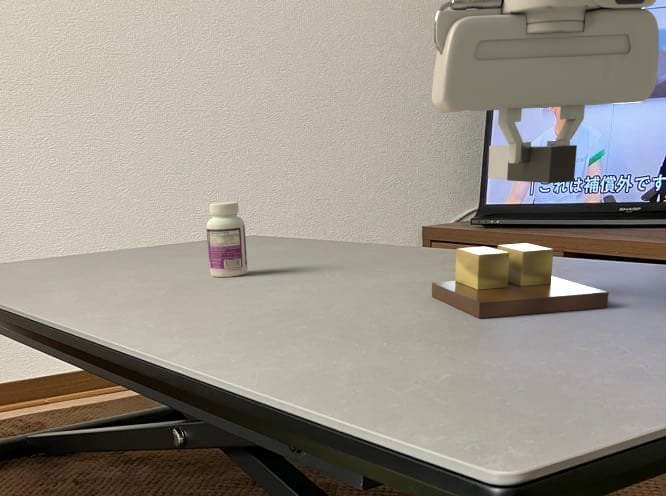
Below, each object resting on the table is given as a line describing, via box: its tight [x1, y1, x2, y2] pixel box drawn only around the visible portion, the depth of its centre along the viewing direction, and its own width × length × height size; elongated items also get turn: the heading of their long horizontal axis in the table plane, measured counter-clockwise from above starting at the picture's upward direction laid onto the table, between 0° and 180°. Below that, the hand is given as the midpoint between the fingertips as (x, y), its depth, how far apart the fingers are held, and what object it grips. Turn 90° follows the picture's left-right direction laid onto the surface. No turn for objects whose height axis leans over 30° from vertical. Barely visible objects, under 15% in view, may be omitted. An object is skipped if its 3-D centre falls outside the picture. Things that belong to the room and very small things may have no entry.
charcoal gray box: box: [487, 144, 578, 184], centre depth 88 cm, size 18×2×3 cm, turn 7°
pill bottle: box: [205, 201, 249, 278], centre depth 126 cm, size 5×5×10 cm
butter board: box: [431, 242, 610, 319], centre depth 93 cm, size 13×15×5 cm
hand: (538, 162), depth 85 cm, fingers closed on charcoal gray box, 2 cm apart
